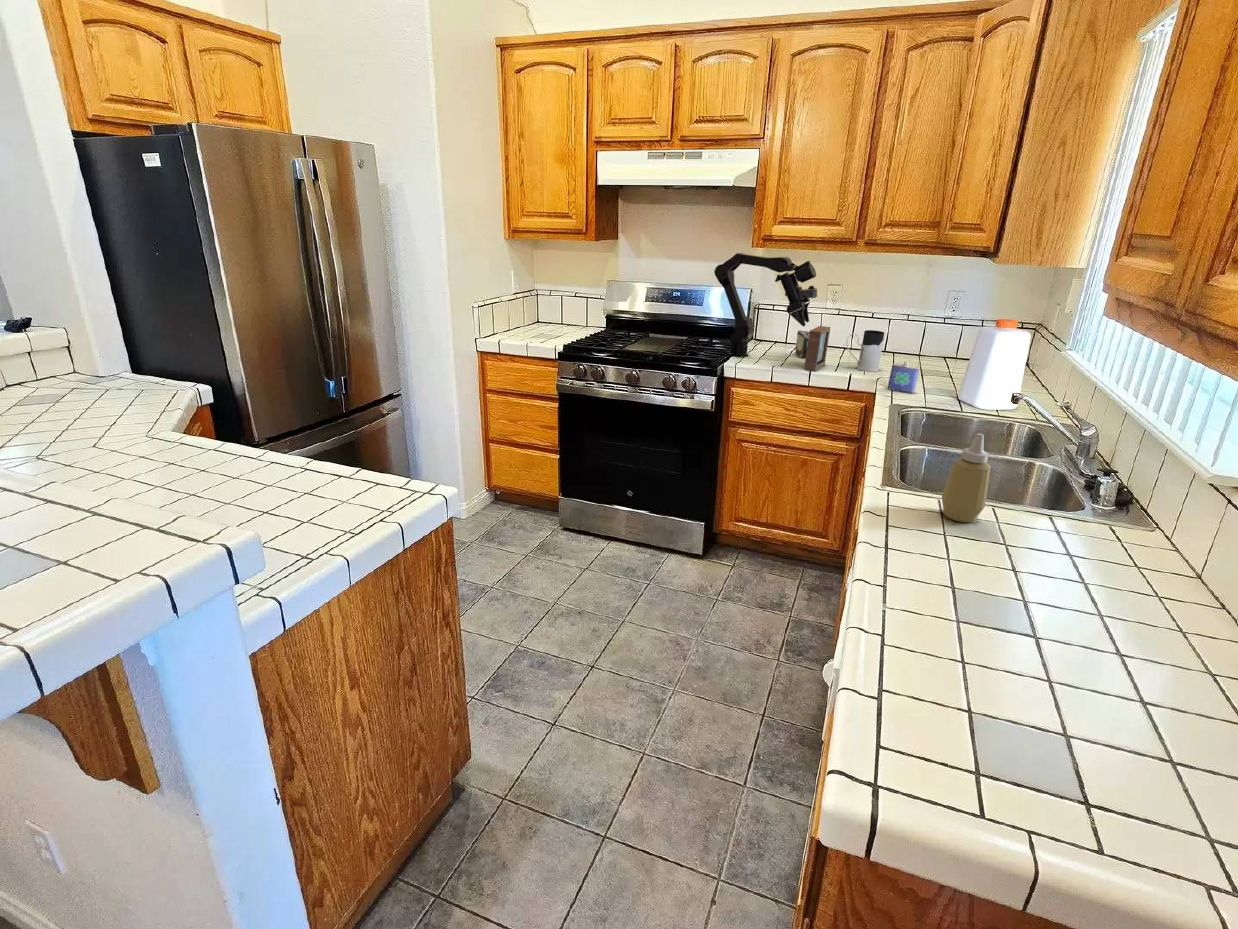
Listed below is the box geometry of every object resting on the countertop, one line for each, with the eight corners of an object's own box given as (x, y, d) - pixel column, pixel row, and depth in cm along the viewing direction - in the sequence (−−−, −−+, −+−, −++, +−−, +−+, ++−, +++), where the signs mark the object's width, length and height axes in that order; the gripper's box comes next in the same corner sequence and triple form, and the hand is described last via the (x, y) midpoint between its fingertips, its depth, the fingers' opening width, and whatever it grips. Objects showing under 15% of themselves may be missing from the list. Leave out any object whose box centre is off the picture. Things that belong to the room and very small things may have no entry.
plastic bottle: (991, 398, 226) (1012, 316, 216) (1022, 410, 212) (1046, 324, 202) (951, 398, 223) (971, 316, 213) (980, 411, 210) (1003, 323, 199)
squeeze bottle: (933, 517, 133) (953, 434, 126) (942, 505, 139) (962, 425, 132) (976, 529, 128) (999, 444, 122) (984, 516, 134) (1006, 434, 128)
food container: (815, 359, 276) (819, 335, 272) (801, 358, 276) (804, 335, 272) (808, 353, 287) (811, 330, 284) (794, 352, 287) (797, 330, 284)
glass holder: (880, 372, 257) (887, 334, 251) (843, 369, 260) (849, 331, 254) (877, 367, 265) (884, 330, 259) (841, 364, 268) (847, 328, 262)
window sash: (810, 363, 256) (814, 335, 252) (799, 362, 258) (803, 334, 254) (814, 361, 261) (818, 333, 257) (803, 359, 263) (807, 332, 259)
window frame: (815, 371, 254) (821, 331, 249) (803, 369, 256) (809, 330, 251) (824, 364, 267) (830, 327, 261) (814, 363, 269) (819, 325, 263)
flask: (915, 392, 229) (921, 362, 225) (912, 394, 227) (919, 363, 223) (888, 387, 234) (894, 358, 230) (886, 389, 232) (891, 359, 228)
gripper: (807, 281, 246) (822, 319, 248) (814, 276, 261) (828, 312, 264) (779, 294, 251) (794, 331, 254) (788, 287, 267) (802, 323, 270)
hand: (806, 323), depth 260 cm, fingers open, 9 cm apart
